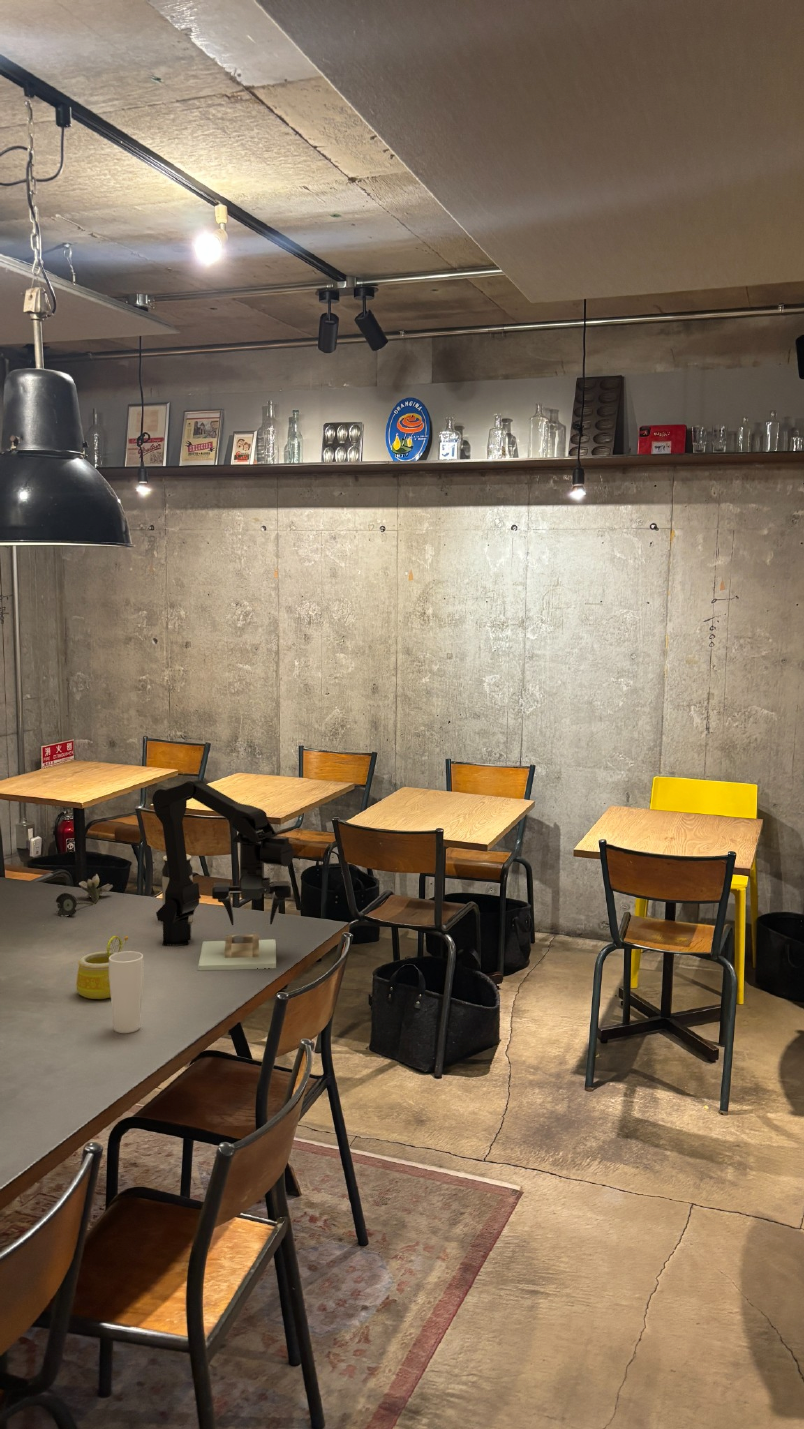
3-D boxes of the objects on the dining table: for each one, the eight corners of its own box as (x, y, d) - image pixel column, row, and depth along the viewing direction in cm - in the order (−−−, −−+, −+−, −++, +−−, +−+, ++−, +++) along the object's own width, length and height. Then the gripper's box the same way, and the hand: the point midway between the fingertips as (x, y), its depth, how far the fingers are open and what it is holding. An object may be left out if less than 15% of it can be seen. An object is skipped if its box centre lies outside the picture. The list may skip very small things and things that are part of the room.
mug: (84, 1006, 219) (83, 951, 217) (71, 989, 228) (70, 937, 227) (143, 995, 225) (142, 941, 224) (128, 979, 235) (127, 928, 233)
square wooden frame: (225, 957, 246) (224, 945, 246) (226, 947, 254) (226, 935, 254) (258, 956, 248) (258, 944, 247) (258, 946, 255) (258, 934, 255)
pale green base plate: (198, 970, 241) (198, 949, 240) (203, 946, 259) (203, 926, 258) (276, 968, 243) (276, 947, 243) (275, 944, 261) (275, 924, 261)
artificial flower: (49, 921, 283) (42, 885, 284) (96, 908, 304) (90, 875, 305) (76, 915, 280) (69, 878, 281) (122, 903, 302) (116, 869, 303)
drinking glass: (139, 1036, 203) (138, 962, 202) (105, 1035, 204) (103, 961, 202) (148, 1022, 210) (147, 951, 209) (115, 1022, 210) (114, 950, 209)
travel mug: (197, 919, 281) (197, 854, 280) (185, 927, 274) (184, 861, 272) (170, 916, 283) (170, 852, 281) (157, 925, 275) (156, 859, 274)
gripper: (210, 870, 240) (211, 935, 241) (291, 869, 242) (291, 933, 244) (213, 859, 251) (213, 921, 252) (290, 857, 253) (290, 919, 255)
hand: (251, 924), depth 251 cm, fingers open, 9 cm apart
